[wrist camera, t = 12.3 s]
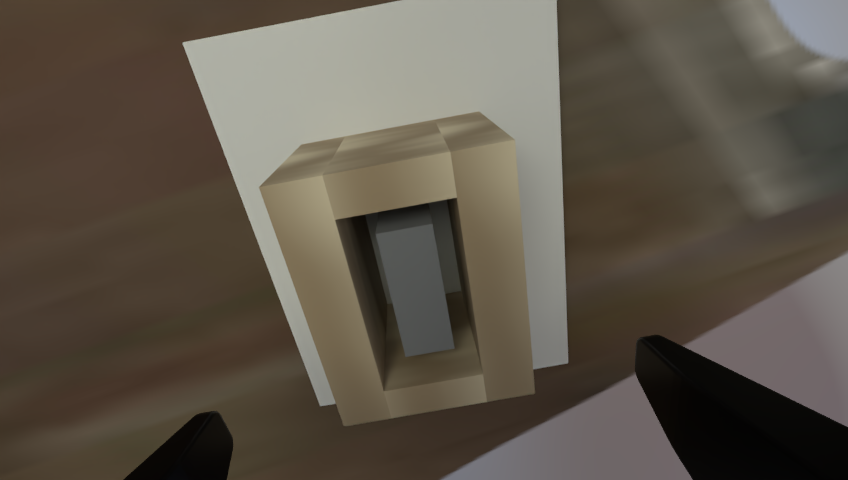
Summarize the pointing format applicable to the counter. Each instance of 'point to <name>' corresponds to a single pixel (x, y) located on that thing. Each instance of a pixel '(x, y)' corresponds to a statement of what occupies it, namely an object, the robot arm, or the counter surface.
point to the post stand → (391, 107)
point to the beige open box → (359, 275)
